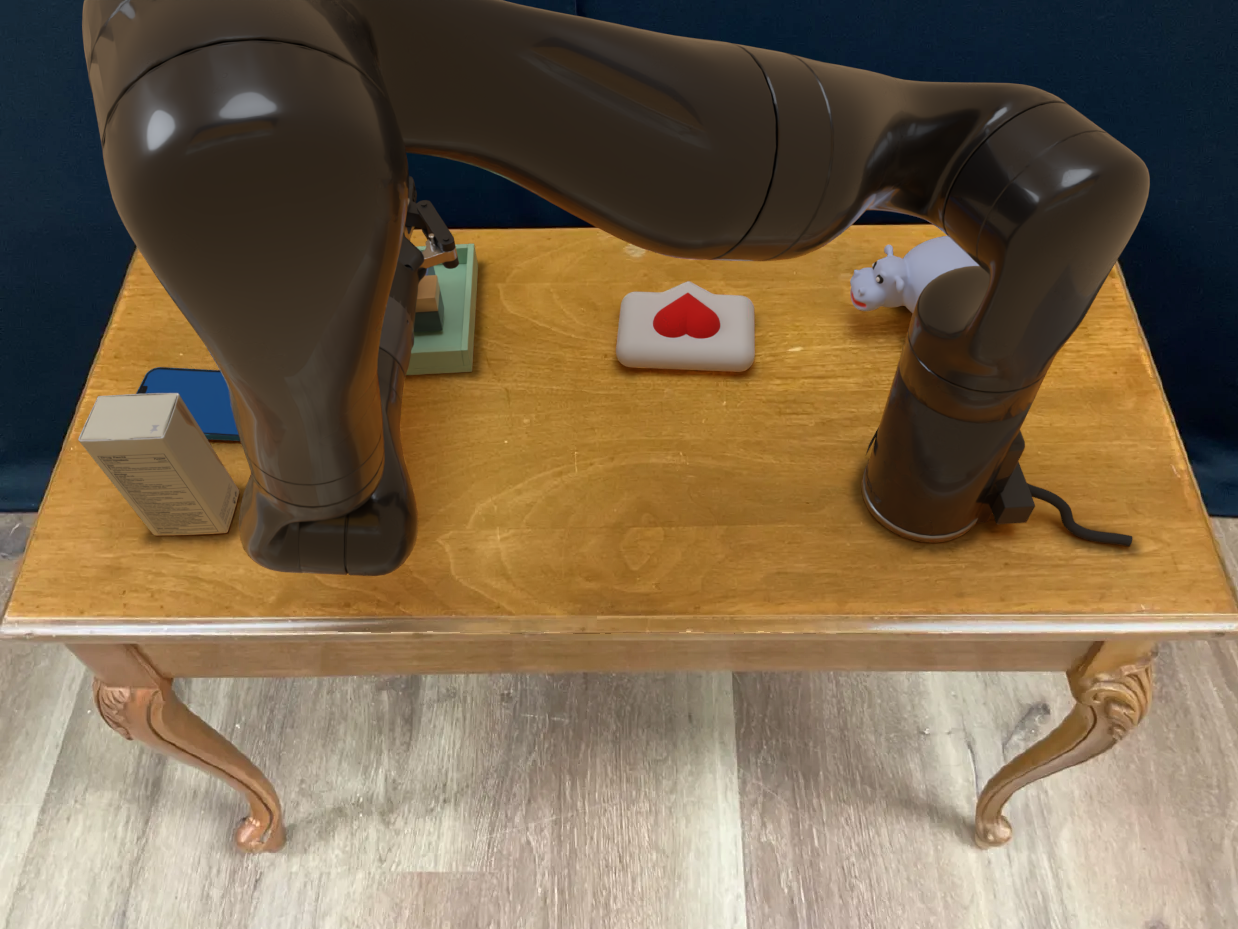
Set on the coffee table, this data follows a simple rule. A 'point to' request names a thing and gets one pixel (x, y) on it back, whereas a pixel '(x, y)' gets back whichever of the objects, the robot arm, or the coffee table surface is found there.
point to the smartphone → (197, 397)
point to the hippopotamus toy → (905, 274)
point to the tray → (450, 320)
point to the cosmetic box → (161, 463)
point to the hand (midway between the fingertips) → (382, 181)
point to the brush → (429, 305)
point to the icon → (686, 330)
